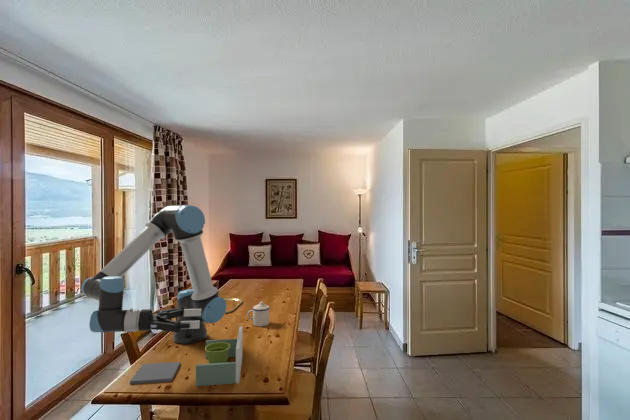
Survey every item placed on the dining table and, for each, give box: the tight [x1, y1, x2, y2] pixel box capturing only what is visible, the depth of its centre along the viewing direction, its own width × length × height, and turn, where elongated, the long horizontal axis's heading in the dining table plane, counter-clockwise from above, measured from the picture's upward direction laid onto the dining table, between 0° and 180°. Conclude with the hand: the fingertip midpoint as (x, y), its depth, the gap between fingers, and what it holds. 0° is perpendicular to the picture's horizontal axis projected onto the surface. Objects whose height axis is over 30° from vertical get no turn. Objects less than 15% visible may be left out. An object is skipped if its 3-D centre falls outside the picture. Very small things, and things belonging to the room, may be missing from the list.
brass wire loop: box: [223, 297, 243, 315], centre depth 223 cm, size 19×35×2 cm, turn 176°
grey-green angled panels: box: [195, 326, 244, 387], centre depth 135 cm, size 15×24×12 cm, turn 9°
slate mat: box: [129, 361, 181, 385], centre depth 131 cm, size 14×14×1 cm
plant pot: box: [204, 342, 230, 364], centre depth 135 cm, size 9×9×9 cm
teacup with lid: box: [247, 301, 271, 327], centre depth 189 cm, size 12×9×12 cm
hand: (200, 318), depth 135 cm, fingers open, 13 cm apart
